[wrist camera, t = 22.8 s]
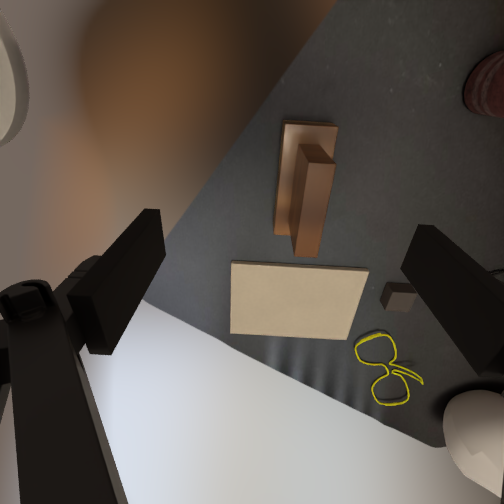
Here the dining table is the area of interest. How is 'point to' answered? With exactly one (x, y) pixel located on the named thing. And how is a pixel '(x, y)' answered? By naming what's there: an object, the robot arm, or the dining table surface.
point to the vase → (477, 436)
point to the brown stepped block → (304, 183)
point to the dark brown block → (398, 297)
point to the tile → (294, 299)
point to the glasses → (387, 369)
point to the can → (487, 87)
